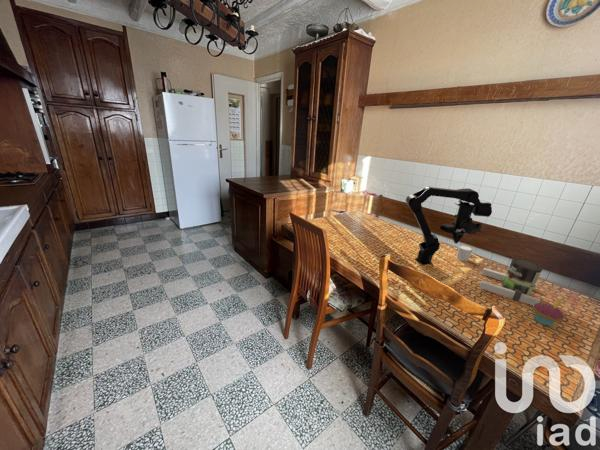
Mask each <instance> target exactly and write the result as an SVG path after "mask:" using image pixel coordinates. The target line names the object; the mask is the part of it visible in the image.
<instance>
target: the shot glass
mask: <svg viewBox="0 0 600 450" xmlns="http://www.w3.org/2000/svg"><path fill="white" fill-rule="evenodd" d="M473 251H474V249H473V248H472V247H469V246H468V245H462V244H461V245H459V246H458V249H457V253H456V259H457V260H458V261H461V262H468V261H469V260H470V258H471V256H472V253H473Z"/></svg>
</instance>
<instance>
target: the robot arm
mask: <svg viewBox="0 0 600 450" xmlns="http://www.w3.org/2000/svg"><path fill="white" fill-rule="evenodd" d="M479 196H480V195H479V192H477V191H476V190H474V189H472V188H459V189H451V188H441V187H431V186H425V187H424V188H422V189H420V190H418V191H416V192H414V193H412V194H409V195H408V196H406V198H405V202H406V204H407V206H408V207H409V209H410V210H411V211H412V213H413V214H414V217H415V219H416V221H417V224H418V226H419V228H420V231H421V233H422V235H423V236H422V238H423V241H422V242H421V243H419V245H418V247H419V248H420V249H419V250H418V254H417V257H415V258H414V260H415V261H417V262H418V263H419V264H420V265H422V266H425V265H433V262H432V261H433V260H432V259H433V256H434V255H435V253H436V252H438V251H439V249H440V248H441V247H440V246H441V243H440V241H439V238H438V237H437V235H436V234H435V233H432V232H431V230H430V227H429V225H428V222H427V220H426V217H425V216H424V213H423V205H422V204H423V203H424V202H426V200H427V199H429V198H430V197H440V198H441V197H442V198H448V199H456V200H458V201H456V202H454V204H455V205H456V206H458V210H457V214H454V218H455V220H454V221H453V222H452V224H449V223H442V224H440V228H439V229H440V230H441V231H444V232H446V233H448V234H451V235H452V239H453V242H454V244H458V243H459V242H460V240H462V238H463V237H464V236H465V235H467V234H468V235H472V234H473V235H475V234H477V233H478V232H480V231H481V230H482V228H483V224H482V223H480V222H477V223H476V222H473V217H471V216H472V214H473V215H474V217H475V216H476V217H487V218H488V217H490V216H491V215H492V213H493V211H492V210H493V209H492V203H491V202H481V201H480V199H479Z"/></svg>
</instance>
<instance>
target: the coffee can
mask: <svg viewBox="0 0 600 450" xmlns="http://www.w3.org/2000/svg"><path fill="white" fill-rule="evenodd" d="M543 270H544V269H543V267H542V266H541V265H540V264H538V263H536V262H534V261H531V260H527V259H525V258H518V257H517V258H512V259H511V261H510V263H509V267H508V269H507V272H506V273H505V274H506V277H505V279H504V281H502V283H501V287H504V288H507V289H510V290H513V291H515V289H518V290H521V291H522V293H523V294H526V295H529V296H532V295H531V294H532V292H533V291H534V290H533V288H534V286H535V284H536V283H537V281H538V280H539V277H540V275H541V273H542V271H543Z"/></svg>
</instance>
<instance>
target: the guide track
mask: <svg viewBox="0 0 600 450" xmlns="http://www.w3.org/2000/svg"><path fill="white" fill-rule="evenodd" d="M506 274H507V273H503V272H500V271H497V270H492V269H489V268H486V267H483V270H482V272H481V275H483V276H486V277H489V278H493V279H495V280H497V281H498V280H499V281H502V282H504V279H505V277H506ZM501 286H502V285H501ZM501 286H500V285H498V284H494V283H491V282H488V281H485V280H481V281H480V283H479V287H478V288H479V289H481V290H485V291H488V292H491V293H493V294H497V295H500V296H502V297H506V298H509V299H511V300H514V301H517V302H521V303H524V304H526V303H527V304H526V305H529V304H530V306H532V305H535V304H536V303H541V299H540V298H539V297H535V296H532V295H530V296H529V295H526V294H523V293H522V291H521V290H518V289H515V291H513V290H510V289H507V288H504V287H501ZM537 286H538V284H537V282H536V284H535V286H534V288H533V290H532V291H536V288H537Z"/></svg>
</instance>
